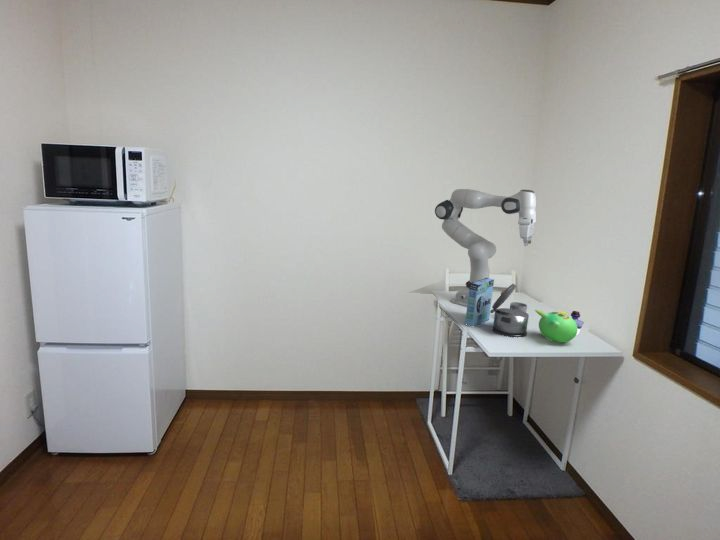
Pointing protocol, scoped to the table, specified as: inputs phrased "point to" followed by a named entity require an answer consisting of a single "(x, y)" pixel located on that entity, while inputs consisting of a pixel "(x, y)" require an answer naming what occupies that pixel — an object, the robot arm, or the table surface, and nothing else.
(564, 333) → the toy bird
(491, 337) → the table surface
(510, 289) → the lid
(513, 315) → the cooker pot
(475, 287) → the gum box
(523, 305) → the cup
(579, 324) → the potion bottle
